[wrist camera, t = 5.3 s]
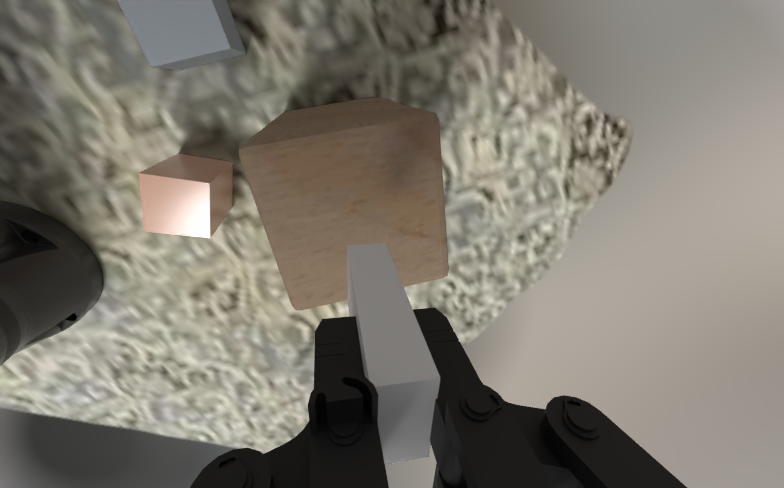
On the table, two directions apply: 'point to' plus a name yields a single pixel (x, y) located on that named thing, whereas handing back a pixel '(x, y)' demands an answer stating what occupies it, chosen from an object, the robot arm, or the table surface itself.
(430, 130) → the wooden block
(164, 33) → the slate cube
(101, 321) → the table surface
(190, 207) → the terracotta block
